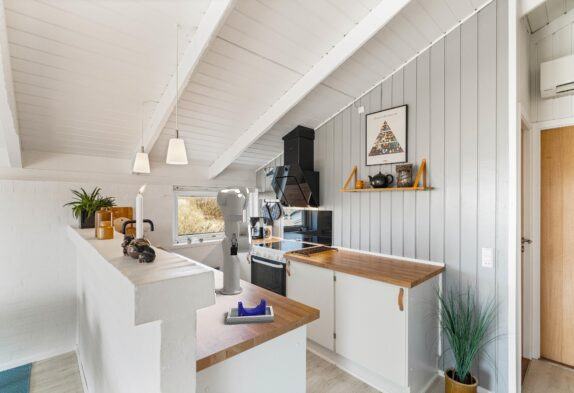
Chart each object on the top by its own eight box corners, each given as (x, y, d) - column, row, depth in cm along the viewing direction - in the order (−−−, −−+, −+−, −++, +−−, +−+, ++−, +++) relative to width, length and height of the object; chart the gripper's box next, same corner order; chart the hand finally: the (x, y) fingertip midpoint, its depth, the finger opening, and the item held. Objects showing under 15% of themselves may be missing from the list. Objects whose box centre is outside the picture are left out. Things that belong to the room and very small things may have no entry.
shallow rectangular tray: (229, 311, 132) (229, 306, 132) (271, 309, 135) (271, 305, 135) (226, 324, 118) (226, 319, 118) (274, 322, 121) (274, 316, 121)
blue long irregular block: (263, 311, 131) (263, 298, 131) (265, 314, 126) (265, 301, 126) (237, 314, 127) (237, 300, 127) (238, 318, 123) (239, 304, 123)
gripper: (227, 216, 145) (227, 249, 146) (225, 220, 128) (225, 257, 129) (242, 216, 147) (242, 249, 147) (242, 220, 129) (241, 257, 130)
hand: (234, 253), depth 138 cm, fingers open, 9 cm apart
